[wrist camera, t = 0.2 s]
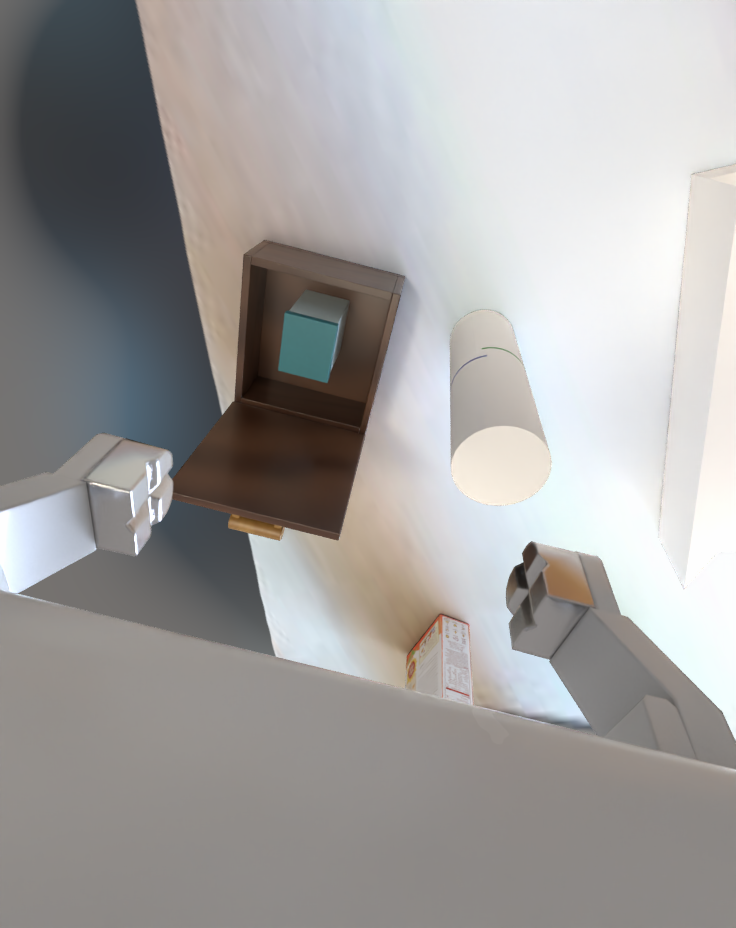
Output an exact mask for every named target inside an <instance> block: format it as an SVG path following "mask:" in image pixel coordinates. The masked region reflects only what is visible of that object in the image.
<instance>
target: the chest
mask: <svg viewBox="0 0 736 928" xmlns="http://www.w3.org/2000/svg"><path fill="white" fill-rule="evenodd" d="M404 280H405V276H402V275H398V274H395V273H391V272H387V271H383V270H379V269H375V268H371V267H367V266H364V265H360V264H356V263H352V262H348V261H344V260H340V259H337V258H333V257H329V256H325V255H321V254H317V253H313V252H310V251H306V250H302V249H298V248H294V247H290V246H286V245H283V244H279V243H275V242H271V241H267V240H264V241H262V242H261V243H259V244H258V245H257V246H255V247H254V248H252V249H251V250H249V251H248V252H247V253H245V254H244V258H243V274H242V290H241V306H240V322H239V338H238V354H237V370H236V386H235V402H238V403H242V404H246V405H250V406H253V407H257V408H261V409H265V410H269V411H273V412H277V413H281V414H285V415H289V416H293V417H297V418H301V419H305V420H309V421H313V422H317V423H321V424H325V425H329V426H333V427H337V428H341V429H345V430H348V431H352V432H356V433H360V434H364V435H365V434H366V431H367V427H368V423H369V419H370V415H371V411H372V407H373V403H374V399H375V395H376V391H377V387H378V383H379V379H380V375H381V371H382V367H383V363H384V359H385V355H386V351H387V347H388V343H389V340H390V336H391V332H392V328H393V324H394V320H395V316H396V312H397V308H398V304H399V300H400V296H401V292H402V288H403V284H404ZM305 290H310V291H314V292H318V293H322V294H326V295H329V296H333V297H337V298H341V299H345V300H349V301H350V302H349V307H348V312H347V318H346V323H345V328H344V333H343V338H342V344H341V349H340V352H339V354H338V356H337V358H336V361H335V363H334V365H333V367H332V369H331V372H330V376H329V380H328V382H327V383H325V382H321V381H317V380H313V379H309V378H305V377H301V376H297V375H293V374H290V373H286V372H282V371H278V366H279V357H280V349H281V340H282V331H283V323H284V314H285V312H286V311H287V310H288V311H289V310H290V309H291V308H292V307H293V305H294V304H295V303H296V302H297V300H298V299H299V298H300V296H301V295H302V294H303V293H304V291H305Z"/></svg>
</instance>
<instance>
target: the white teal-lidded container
mask: <svg viewBox="0 0 736 928" xmlns="http://www.w3.org/2000/svg"><path fill="white" fill-rule="evenodd" d="M349 302H350V301H349V300H345V299H341V298H337V297H333V296H329V295H326V294H322V293H318V292H314V291H310V290H305V291H304V293H303V294H302V295H301V296H300V298H299V299H298V300H297V302H296V303H295V304H294V305H293V307H292V308H291V309H290V310H289V311H288V310H287V311H286V312H285V314H284V323H283V331H282V340H281V349H280V357H279V366H278V371H282V372H286V373H290V374H293V375H297V376H301V377H305V378H309V379H313V380H317V381H321V382H325V383H327V382H328V380H329V376H330V372H331V369H332V367H333V365H334V363H335V361H336V358H337V356H338V354H339V352H340V349H341V344H342V338H343V333H344V328H345V323H346V318H347V312H348V307H349Z"/></svg>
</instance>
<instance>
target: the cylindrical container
mask: <svg viewBox="0 0 736 928" xmlns="http://www.w3.org/2000/svg"><path fill="white" fill-rule="evenodd" d="M450 416H451V474H452V477H453V480H454V482H455V484H456V486H457V487H458V489H459V490H460V491H461V492H462V493H463V494H465V495H466V496H467V497H469V498H470V499H472V500H474V501H476V502H479V503H483V504H486V505H494V506H502V505H510V504H515V503H518V502H521V501H524V500H526V499H527V498H529V497H531V496H533V495H534V494H535V493H537V492H538V491H539V490H540V489H541V488H542V487H543V486H544V484H545V483H546V481H547V479H548V477H549V475H550V471H551V463H552V461H551V456H550V452H549V448H548V445H547V442H546V438H545V435H544V432H543V428H542V425H541V421H540V418H539V415H538V411H537V408H536V405H535V401H534V398H533V395H532V391H531V388H530V385H529V381H528V378H527V374H526V371H525V368H524V364H523V361H522V358H521V354H520V351H519V348H518V344H517V341H516V338H515V334H514V331H513V328H512V326H511V324H510V322H509V321H508V320H507V319H506V318H505V317H504V316H503V315H501V314H499V313H498V312H495V311H491V310H477V311H474V312H471V313H469V314H467V315H465V316H464V317H463V318H461V319H460V320H459V321H458V322H457V324H456V325H455V327H454V328H453V330H452V333H451V337H450Z"/></svg>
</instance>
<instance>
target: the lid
mask: <svg viewBox="0 0 736 928" xmlns="http://www.w3.org/2000/svg"><path fill="white" fill-rule="evenodd" d="M364 439H365V435H364V434H360V433H356V432H352V431H348V430H345V429H341V428H337V427H333V426H329V425H325V424H321V423H317V422H313V421H309V420H305V419H301V418H297V417H293V416H289V415H285V414H281V413H277V412H273V411H269V410H265V409H261V408H257V407H253V406H250V405H246V404H242V403H238V402H232V404H231V405H230V406H229V407H228V409H227V410H226V411H225V413H224V414H223V415H222V416H221V418H220V419H219V420H218V422H217V423H216V424H215V425H214V427H213V428H212V429H211V430H210V432H209V433H208V434H207V436H206V437H205V438H204V439H203V441H202V442H201V443H200V444H199V446H198V447H197V448H196V449H195V451H194V452H193V453H192V455H191V456H190V457H189V459H188V460H187V461H186V462H185V464H184V465H183V466H182V467H181V469H180V470H179V471H178V473H177V474H176V475H175V476H174V478H173V479H172V480H173V496H172V499H174V500H178V501H181V502H185V503H190V504H194V505H198V506H202V507H206V508H210V509H214V510H218V511H222V512H226V513H230V514H231V516H230V519H229V523H228V527H229V528H231V529H234V530H239V531H242V532H246V533H250V534H255V535H259V536H263V537H267V538H271V539H275V540H279V541H280V540H281V539H282V536H283V533H284V529H285V527H286V528H290V529H294V530H298V531H302V532H306V533H310V534H314V535H318V536H322V537H326V538H330V539H334V540H339V538H340V534H341V530H342V526H343V522H344V518H345V514H346V510H347V506H348V502H349V498H350V494H351V490H352V486H353V482H354V478H355V475H356V471H357V467H358V463H359V459H360V455H361V451H362V447H363V443H364Z"/></svg>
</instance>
